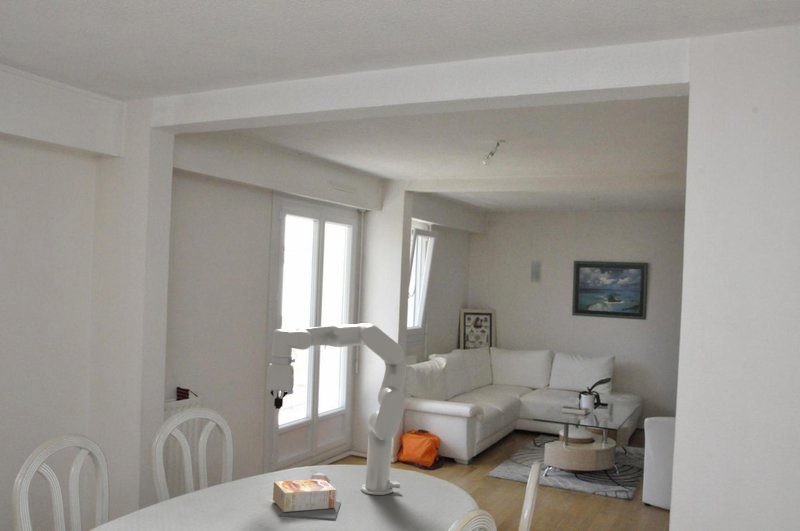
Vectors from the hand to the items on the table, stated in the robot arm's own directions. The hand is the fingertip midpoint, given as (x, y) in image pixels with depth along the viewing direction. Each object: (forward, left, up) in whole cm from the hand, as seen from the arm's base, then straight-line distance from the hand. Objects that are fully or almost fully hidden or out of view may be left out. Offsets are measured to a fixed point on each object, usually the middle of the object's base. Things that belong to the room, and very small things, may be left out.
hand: (278, 408), depth 274 cm
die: (-18, -3, -31) cm, 36 cm away
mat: (-18, +18, -32) cm, 41 cm away
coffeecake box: (-6, +19, -28) cm, 34 cm away
